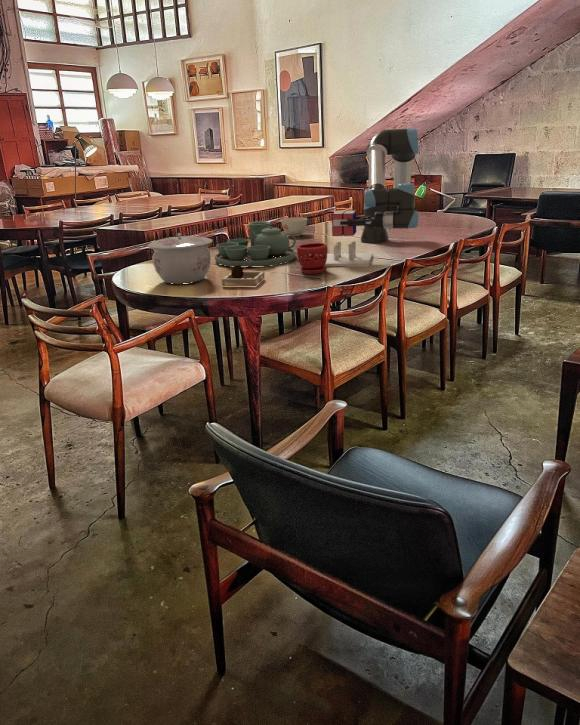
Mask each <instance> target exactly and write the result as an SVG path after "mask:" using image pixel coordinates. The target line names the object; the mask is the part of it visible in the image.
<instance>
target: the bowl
mask: <svg viewBox="0 0 580 725" xmlns="http://www.w3.org/2000/svg"><path fill="white" fill-rule="evenodd" d="M280 222H281V227H282V229H283V232H285V234H286V233H291V234H293V235H294V236H298V237H300V236H301V234H302V233H304V232H305V230H306V228H307V225H308V218H307V217H301V216H300V217H299V216H298V217H297V216H296V217H294V216H293V217H285V218H281V219H280ZM290 236H291V235H288V237H290Z"/></svg>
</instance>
